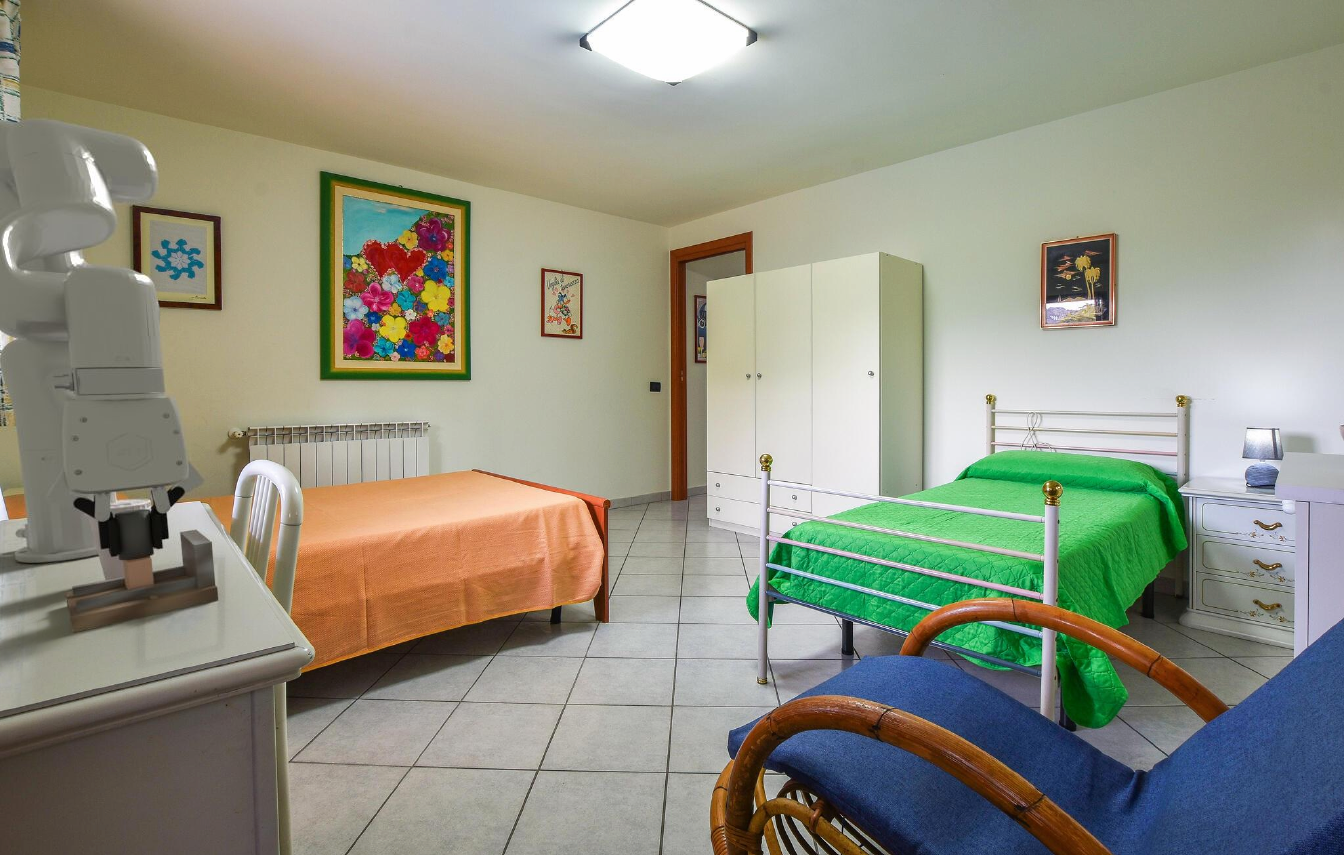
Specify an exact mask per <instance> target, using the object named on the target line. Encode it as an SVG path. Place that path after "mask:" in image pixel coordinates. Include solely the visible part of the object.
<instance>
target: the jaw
mask: <svg viewBox="0 0 1344 855" xmlns="http://www.w3.org/2000/svg"><path fill="white" fill-rule="evenodd" d="M150 511H151V509H139V510H130V511H124V512H119V513H116V514H115V519H116V521H117V528H118V539H119V549H120V555H119V560H123V566H124V576H125V585H126V587H127V589H128V590H131V589H136V588H141V587H146V586H151V585H154V580H153V561H152V559H153V558H152V557H151V556H153V555H154V554H155V549H154V547H153V538H152V527H151V517H150Z"/></svg>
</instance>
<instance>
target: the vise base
mask: <svg viewBox="0 0 1344 855" xmlns="http://www.w3.org/2000/svg"><path fill="white" fill-rule="evenodd" d="M179 534H180V547H181V556H182V558H181V559H182V565H180V566H176V567H170V568H164V569H160V570H158V569H157V570H154V571H153V580H154V585H151V586H146V587H141V588H136V589H131V590H128V589H127V587H126V585H125V577H121V578H116V579H110V580H105V579H104V580H100V581H94V582H88V583H85V584H79V585H74V586H71V588H72V591H67V592H65V597H66V599H65V600H66V605H67V611H68V616H69V619H70V625H71V628H72V633H77V632H81V631H87V630H90V629H91V630H92V629H95V628H100V627H103V626H104V627H105V626H108V625H112V624H116V623H117V624H118V623H121V622H126V621H130V620H134V619H139V618H143V617H149V616H153V615H158V614H161V613H162V614H163V613H166V612H172V611H176V610H180V609H184V608H188V607H193V606H198V605H202V604H207V603H211V602H214V601H219V593H218V592H219V591H218V586H217V585H216V578H215V565H214V564H215V563H214V553H213V551H214V550H213V542H212V541H211V540H210V539H208V538H207V537H206V536H205V535H204V534H202V533H201V532H200V531H199V530H197V529H192V530H191V529H190V530H185V531H179Z"/></svg>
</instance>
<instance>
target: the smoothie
mask: <svg viewBox="0 0 1344 855" xmlns="http://www.w3.org/2000/svg"><path fill="white" fill-rule="evenodd" d="M151 502H152V501H151V500H150V499H148V498H131V499H130V498H129V499H128V498H127V499H117V492H111V501H110V511H111V512H112V513H113V517H115V514H116V513H119V512H124V511H130V510H139V509H149V510H151V506H152V503H151ZM84 516H86V517H88V518H89V521H90V526H91V530H92V533H93V536H94V540H95V544H96V547H97V551H98V555H97V556H98V557H99V562H100V565H101V568H102V573H103V576H104V581H105V580H110V579H116V578H121V577H125V576H124V566H123V560H119V555H118V556H115V557H111V555H110V553H109V548H108V549H101V547H100V538H99V528H98V521H97V520H96V519H95V518H93V517H91V516H89V515H87V514H86V513H85V515H84Z"/></svg>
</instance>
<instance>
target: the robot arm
mask: <svg viewBox="0 0 1344 855" xmlns="http://www.w3.org/2000/svg"><path fill="white" fill-rule="evenodd" d="M158 188H159V170H158V166H157V163H156V161H155V159H154V157H153V155H152V153H151V152H150V150H149V149H148V148H147V146H146V145H145V144H144V143H143V142H141V141H140V140H138V139H135V138H134V137H131V136H128V135H125V134H121V133H116V132H111V131H106V130H102V129H98V128H97V129H96V128H94V127H93V128H92V127H89V126H84V125H79V124H75V123H69V122H66V121H65V122H64V121H60V120H57V119H49V118H27V119H23V120H19V121H16V122H14V121H7V120H0V331H1V332H2V333H3V334H4V335H6V336H8V337H12V338H14V339H13V340H11V341H10V342H8V343H7V344H6V345H5V346H3V348H2V349H1V352H0V371H1V375H2V378H3V381H4V385H5V387H6V391H7V392H8V397H9V399H10V403H11V407H12V412H13V417H14V422H15V426H16V427H15V428H16V436H17V443H18V450H19V460H20V470H21V478H22V486H23V488H22V489H23V495H24V496H23V498H24V505H25V512H26V514H25V515H26V523H25V524H24V528H21V527H20V528H18V529H17V530H16V531H15V536H16V537H17V538H20V539H21V538H22V539H23V538H24V539H26V540H25V541H26V546H25V547H21V548H19V549H18V550H16V551H15V552H14V556H15V557H14V558H15V561H17V562H19V563H26V564H27V563H28V564H29V563H30V564H31V563H32V564H35V563H36V564H37V563H52V562H63V561H68V560H70V561H71V560H75V559H82V558H88V557H93V556H99V555H98V551H97V547H96V544H95V540H94V536H93V533H92V530H91V526H90V521H89V518H88V517H86V516H84V515H85V513H86V514H87V515H89V516H91V517H93V518H95V519H96V520H97V521H98V528H99V538H100V547H101V549H108V548H109V553H110V555H111V557H115V556H118V555H120V549H119V539H118V528H117V521H116V519H115V517H113V513H112V512H111V511H110V501H111V492H116V493H117V492H126V491H134V490H135V491H136V490H141V489H149V492H150V496H151V500H152V501H151V502H152V504H151V509H150V517H151V527H152V538H153V548H154V550H163V549H164V545H163V544H164V543H163V540H169V539H170V533H169V531H170V530H169V524H168V513H169V511H170V510H171V508H172V507H173V506H174V505H175V504H176V503H177V502H178V501H179V500H180V499H181V498H182V497H183V496H184V495H185V494H188V493H190V492H192V491H193V490H194V489H196V488H198V487H200V486H202V485H203V484H204V482H205V480H204V477H202V476H201V474H200V473H199V471H197V469H196V468H195V467H194V465H193V464H192V463H191V462H190V461H189V459H188V453H187V452H188V450H187V444H186V438H185V437H186V436H185V432H184V426H183V422H182V416H181V413H180V409H179V406H178V403H177V400H176V398H175V397H174V396H166V387H165V376H164V365H163V352H162V342H161V330H160V324H161V310H160V304H159V301H158V297H157V291H156V286H155V283H154V282H153V280H152V279H151V278H150V277H149V276H147V275H146V274H144V273H140V272H138V271H136V270H134V269H131V268H128V267H123V266H114V265H105V264H103V265H102V264H93V263H89V262H87V261H86V260H85V258H84V254H83V250H85V249H90V248H93V247H96V246H99V245H101V244H103V243H106V242H107V241H108V240H109V239H110V238H112V237H113V236H114V234H115V233H116V231H117V228H118V216H117V214H116V211H115V207H114V205H113V203H116V204H126V205H127V204H128V205H129V204H135V205H138V204H145V203H148V202H151V200H152V199H154V197H155V196H156V193H157V191H158ZM169 486H171V487H170V488H169V489H168V490H167V487H169Z"/></svg>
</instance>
